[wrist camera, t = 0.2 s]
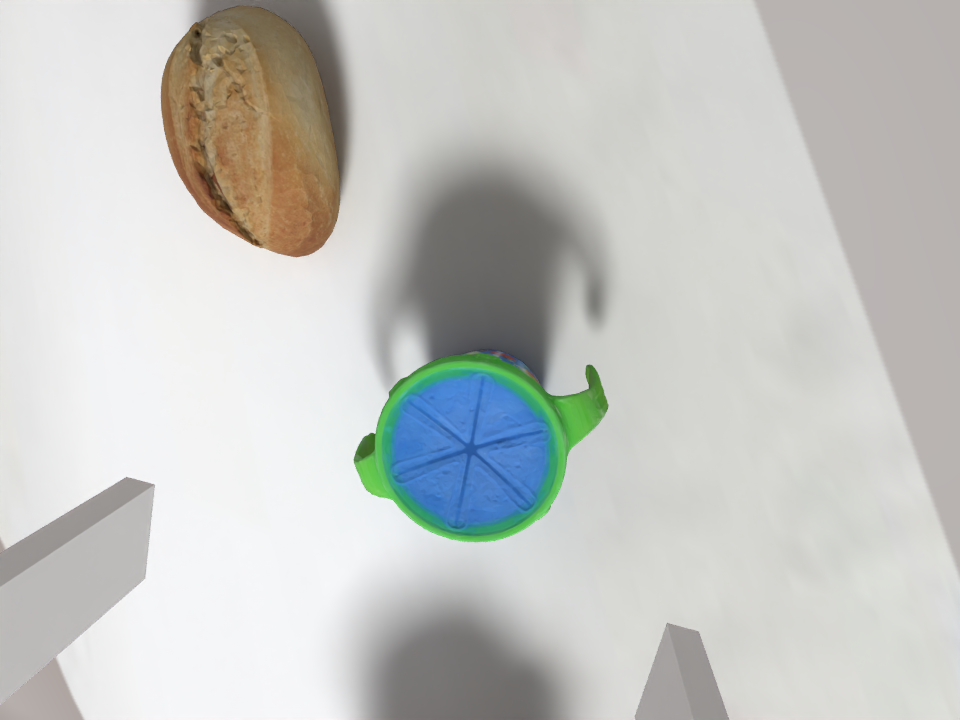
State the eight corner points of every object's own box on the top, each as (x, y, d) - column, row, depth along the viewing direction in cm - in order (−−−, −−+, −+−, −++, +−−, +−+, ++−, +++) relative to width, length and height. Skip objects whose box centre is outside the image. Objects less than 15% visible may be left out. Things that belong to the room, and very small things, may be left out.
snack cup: (401, 490, 45) (358, 564, 36) (362, 351, 43) (306, 390, 34) (615, 451, 43) (633, 520, 33) (585, 303, 41) (594, 329, 31)
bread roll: (249, 270, 43) (182, 281, 35) (181, 44, 40) (92, 2, 33) (379, 238, 42) (339, 243, 34) (318, 1, 39) (259, -54, 31)
